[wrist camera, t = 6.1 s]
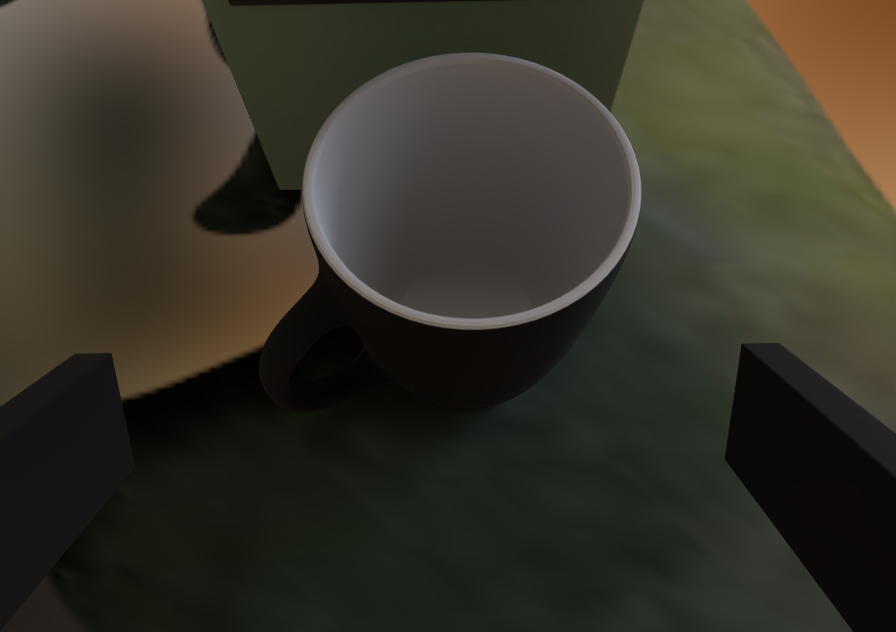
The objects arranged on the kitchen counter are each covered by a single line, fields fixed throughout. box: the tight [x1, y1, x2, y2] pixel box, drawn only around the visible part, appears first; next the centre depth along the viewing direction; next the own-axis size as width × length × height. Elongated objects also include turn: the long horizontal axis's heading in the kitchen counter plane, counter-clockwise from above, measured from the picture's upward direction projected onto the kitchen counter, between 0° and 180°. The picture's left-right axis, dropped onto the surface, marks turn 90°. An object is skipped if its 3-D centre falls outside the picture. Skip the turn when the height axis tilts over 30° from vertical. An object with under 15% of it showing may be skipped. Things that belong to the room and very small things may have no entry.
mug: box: [259, 53, 641, 412], centre depth 21 cm, size 12×9×10 cm
